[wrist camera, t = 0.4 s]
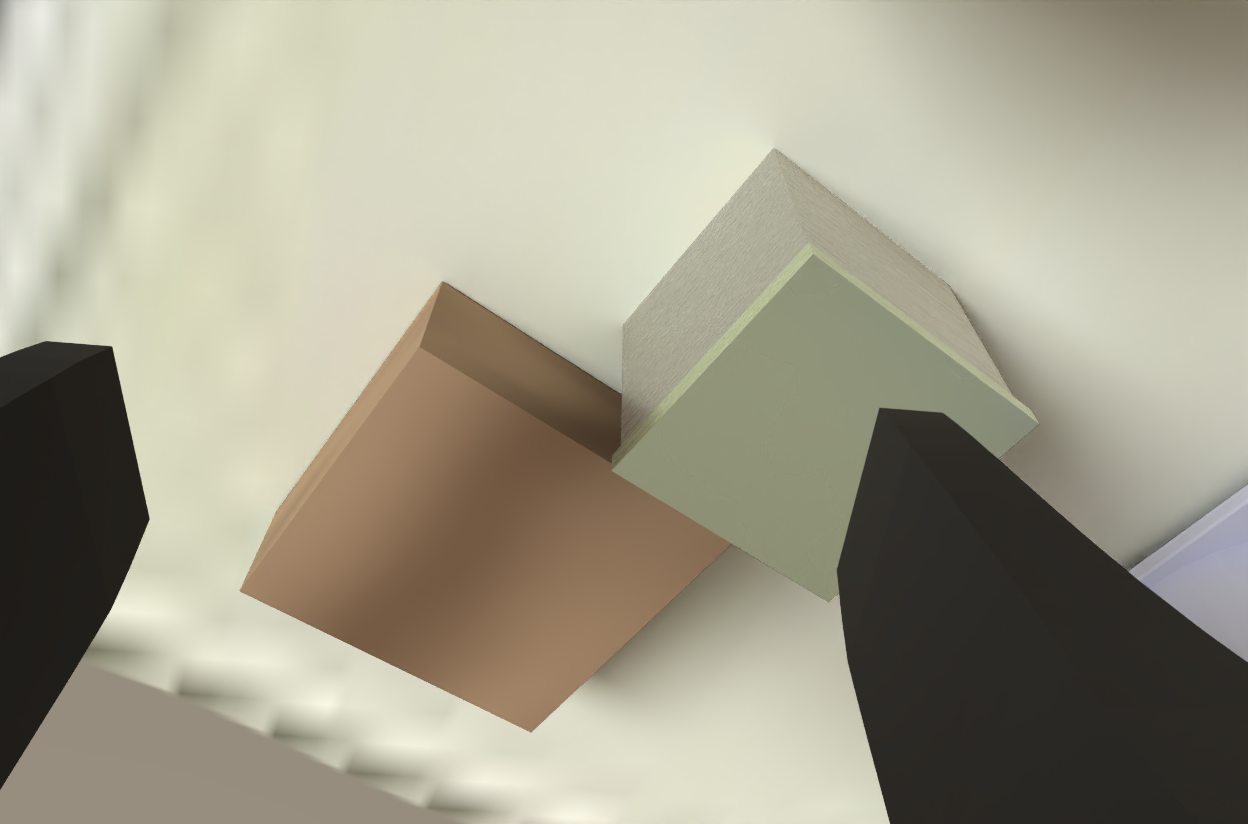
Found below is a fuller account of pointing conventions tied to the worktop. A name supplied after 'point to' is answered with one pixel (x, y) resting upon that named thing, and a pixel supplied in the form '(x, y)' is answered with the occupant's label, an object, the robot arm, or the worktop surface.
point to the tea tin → (793, 371)
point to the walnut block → (478, 521)
